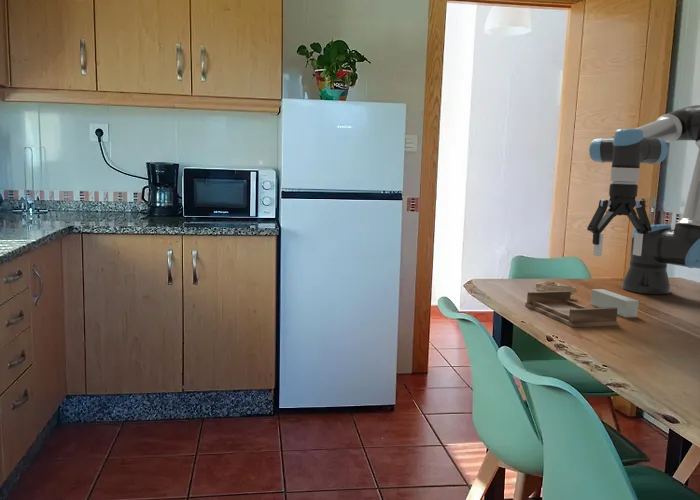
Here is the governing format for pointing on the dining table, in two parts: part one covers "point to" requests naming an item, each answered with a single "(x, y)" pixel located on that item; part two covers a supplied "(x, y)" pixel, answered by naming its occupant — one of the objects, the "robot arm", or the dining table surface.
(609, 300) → the greenware bar
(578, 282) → the dining table surface
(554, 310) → the cradle rack
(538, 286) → the pottery oil lamp
